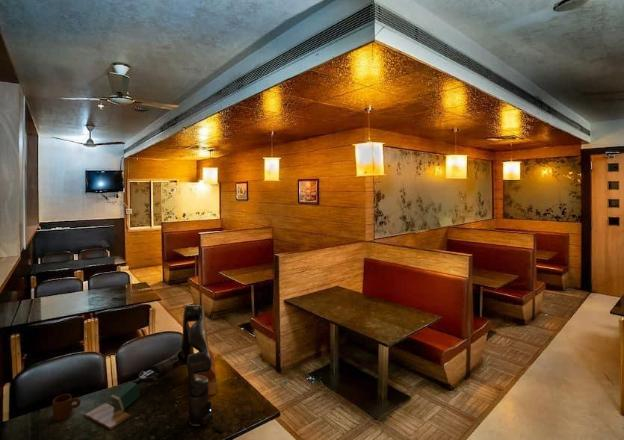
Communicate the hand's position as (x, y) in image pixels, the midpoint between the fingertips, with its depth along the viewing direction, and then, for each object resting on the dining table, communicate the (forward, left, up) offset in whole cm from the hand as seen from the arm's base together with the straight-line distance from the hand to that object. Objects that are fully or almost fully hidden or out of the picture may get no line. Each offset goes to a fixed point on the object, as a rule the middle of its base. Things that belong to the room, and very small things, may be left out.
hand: (134, 383), depth 181 cm
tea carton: (0, +5, -4) cm, 6 cm away
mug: (+17, +23, -9) cm, 30 cm away
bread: (-21, -29, -9) cm, 37 cm away
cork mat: (0, +14, -9) cm, 17 cm away
